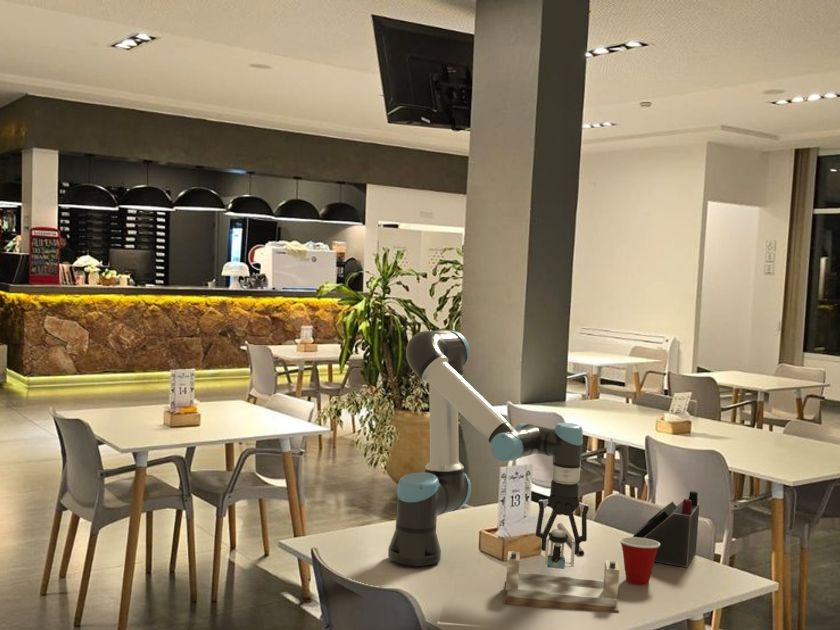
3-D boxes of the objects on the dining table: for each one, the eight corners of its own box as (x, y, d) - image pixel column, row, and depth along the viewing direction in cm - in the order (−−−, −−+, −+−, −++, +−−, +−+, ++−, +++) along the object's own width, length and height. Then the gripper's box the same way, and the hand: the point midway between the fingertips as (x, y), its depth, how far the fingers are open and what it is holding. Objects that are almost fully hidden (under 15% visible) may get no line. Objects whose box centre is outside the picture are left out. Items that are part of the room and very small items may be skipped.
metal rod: (577, 556, 266) (578, 550, 266) (557, 528, 293) (557, 522, 293) (584, 556, 266) (584, 550, 266) (562, 529, 293) (563, 523, 293)
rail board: (504, 603, 225) (506, 561, 224) (507, 580, 241) (509, 540, 241) (618, 615, 221) (621, 572, 220) (613, 590, 238) (615, 550, 237)
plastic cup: (653, 578, 249) (656, 535, 249) (661, 592, 239) (664, 547, 238) (614, 575, 250) (616, 532, 249) (619, 589, 239) (622, 544, 239)
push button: (569, 565, 247) (573, 530, 247) (570, 572, 242) (574, 535, 241) (545, 562, 248) (548, 527, 247) (545, 569, 243) (549, 533, 242)
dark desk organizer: (641, 546, 278) (645, 482, 276) (695, 556, 270) (700, 491, 269) (629, 561, 263) (633, 493, 262) (686, 572, 256) (691, 503, 255)
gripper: (529, 480, 241) (523, 564, 243) (602, 487, 238) (595, 572, 240) (529, 474, 248) (523, 555, 250) (600, 480, 246) (594, 563, 248)
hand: (558, 563), depth 245 cm, fingers closed on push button, 6 cm apart
